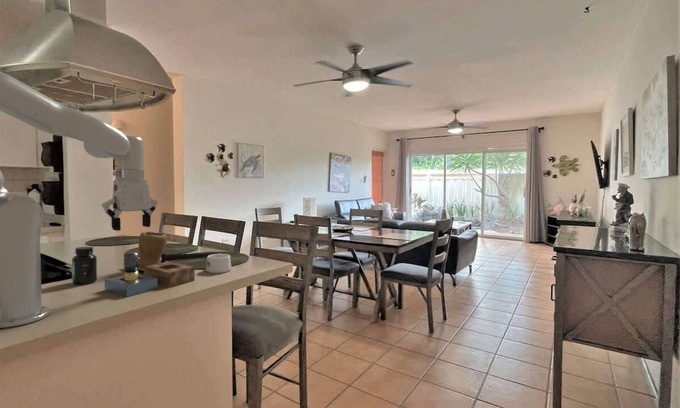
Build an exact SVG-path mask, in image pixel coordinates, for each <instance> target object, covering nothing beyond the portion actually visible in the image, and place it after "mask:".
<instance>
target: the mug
mask: <svg viewBox="0 0 680 408" xmlns="http://www.w3.org/2000/svg"><path fill="white" fill-rule="evenodd" d="M231 261H232V260H231V255H230V254H229V253H228V254H227V253H219V254H212V255H209V256H207V257H206V263H205V271H206V272H207V273H209V274H222V273H223V274H224V273H227V272H230V271H231V270H232V263H231Z"/></svg>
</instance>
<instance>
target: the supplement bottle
mask: <svg viewBox="0 0 680 408" xmlns="http://www.w3.org/2000/svg"><path fill="white" fill-rule="evenodd" d="M93 253H94V247H93V246H79V247H75V253H74V254H75V255H74V256H73V257H72V259H71V278H72V279H71V282H72V284H73V285H74V286H75V285H76V286H85V285H90V284H93V283H96V282H97V280H98V271H97V269H98V260H97V259H98V258H97V255H95V254H93Z"/></svg>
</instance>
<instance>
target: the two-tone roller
mask: <svg viewBox="0 0 680 408" xmlns="http://www.w3.org/2000/svg"><path fill="white" fill-rule="evenodd" d="M138 259H139V252H138V251H127V252H124V253H123V275H124V281H126V282H130V281H134V280H138V274H139V270H138Z"/></svg>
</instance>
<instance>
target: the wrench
mask: <svg viewBox="0 0 680 408" xmlns="http://www.w3.org/2000/svg"><path fill="white" fill-rule="evenodd" d="M212 254H220V253H219V252H205V253H204V252H203V253H202V252H201V253H199V252H198V253H171V254H166V253H162V255H161V258H160V261H161V263H164V262H174V261H182V260H188V259H189V260H190V259H199V258H198V257H201V258H204V257H203V256H209V255H212Z"/></svg>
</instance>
